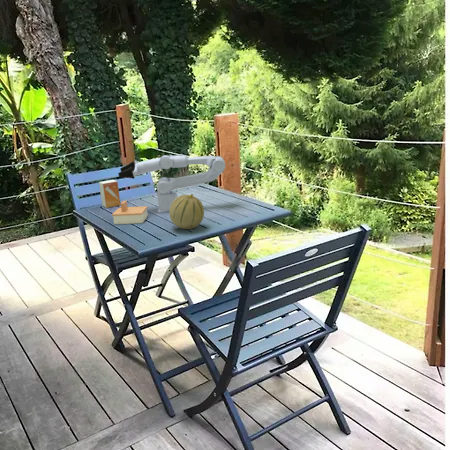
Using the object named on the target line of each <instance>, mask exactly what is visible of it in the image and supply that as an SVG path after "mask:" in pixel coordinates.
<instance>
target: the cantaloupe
mask: <svg viewBox="0 0 450 450" xmlns="http://www.w3.org/2000/svg"><path fill="white" fill-rule="evenodd" d="M204 209H205V208H204V205H203V203H202V201H201V200H200V199H199V198H198V197H197V196H195V195H194V194H193V193H192V194H182V195H180V196H177V198H176V199H175V200H174V201H173V202H172V204H171V206H170V209H169V211H168V212H169V213H168V215H169V217H170V220H171V223H173V225H175V226H176V227H177V228H180V229H182V230H191V229H194V228H196V227H198V226H199V225H200V224H201V223H202V221H203V219H204V217H205V216H204V215H205V210H204Z"/></svg>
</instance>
